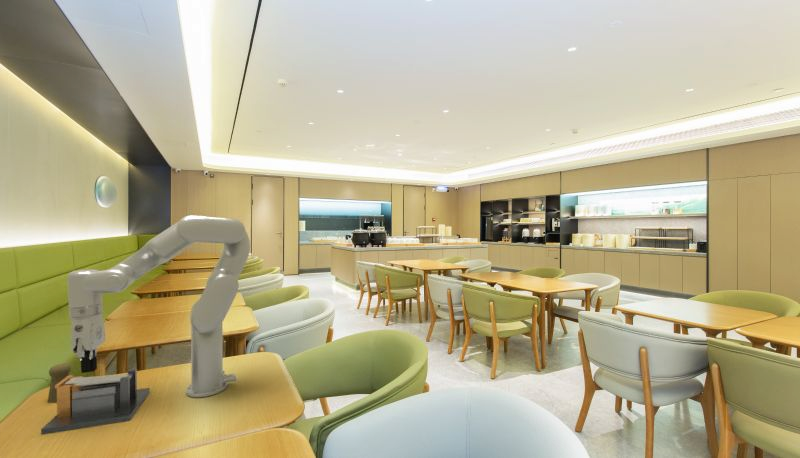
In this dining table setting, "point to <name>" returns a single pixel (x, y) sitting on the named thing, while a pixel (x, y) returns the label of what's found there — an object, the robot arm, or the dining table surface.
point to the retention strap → (96, 379)
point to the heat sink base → (105, 418)
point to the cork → (57, 379)
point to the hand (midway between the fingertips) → (89, 371)
